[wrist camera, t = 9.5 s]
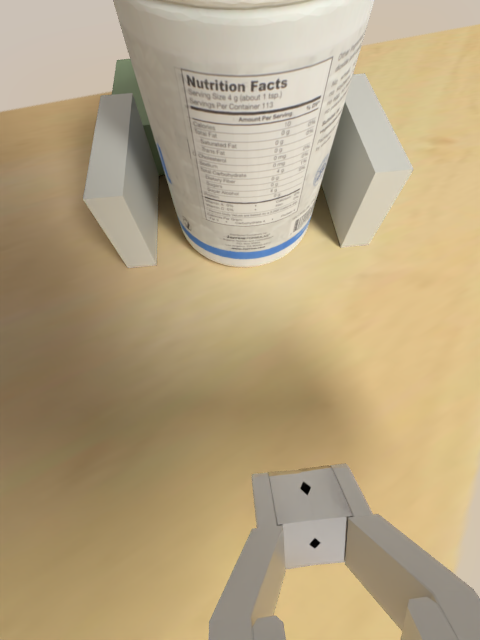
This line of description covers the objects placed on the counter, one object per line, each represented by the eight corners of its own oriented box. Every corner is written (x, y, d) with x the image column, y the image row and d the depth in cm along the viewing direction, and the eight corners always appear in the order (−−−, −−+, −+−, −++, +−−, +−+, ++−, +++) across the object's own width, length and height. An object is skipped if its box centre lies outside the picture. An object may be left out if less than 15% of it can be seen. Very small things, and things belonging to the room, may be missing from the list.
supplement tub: (178, 183, 23) (84, -178, 10) (292, 168, 24) (351, -197, 10) (186, 283, 19) (48, -91, 6) (323, 265, 20) (486, -127, 6)
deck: (120, 268, 20) (32, 142, 12) (134, 112, 27) (85, -33, 19) (375, 244, 20) (462, 104, 12) (320, 96, 28) (351, -53, 20)
